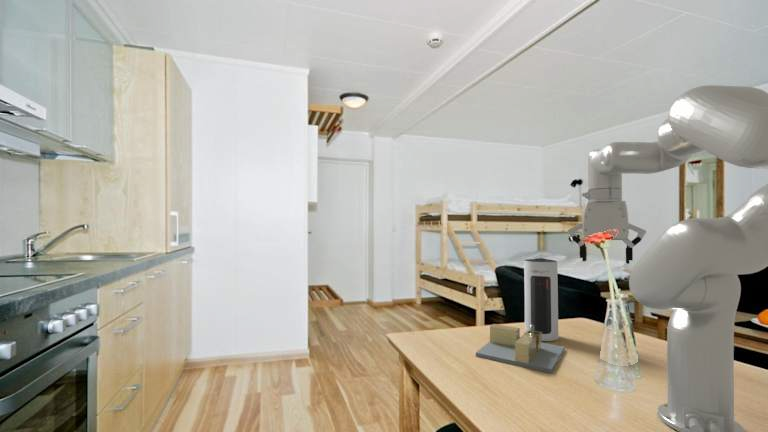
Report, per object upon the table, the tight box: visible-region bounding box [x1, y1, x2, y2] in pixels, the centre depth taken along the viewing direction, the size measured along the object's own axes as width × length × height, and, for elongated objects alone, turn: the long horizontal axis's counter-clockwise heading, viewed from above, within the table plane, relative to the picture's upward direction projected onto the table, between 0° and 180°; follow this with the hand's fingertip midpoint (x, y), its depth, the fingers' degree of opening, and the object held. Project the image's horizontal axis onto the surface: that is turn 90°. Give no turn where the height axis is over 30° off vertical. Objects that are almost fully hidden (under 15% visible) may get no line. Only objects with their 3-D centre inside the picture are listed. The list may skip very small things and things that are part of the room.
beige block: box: [515, 330, 543, 364], centre depth 102 cm, size 14×4×5 cm, turn 144°
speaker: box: [523, 257, 559, 343], centre depth 121 cm, size 11×10×26 cm
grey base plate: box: [475, 340, 565, 374], centre depth 106 cm, size 20×20×1 cm
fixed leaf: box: [489, 323, 542, 352], centre depth 110 cm, size 4×14×7 cm, turn 55°
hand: (605, 261), depth 95 cm, fingers open, 9 cm apart
